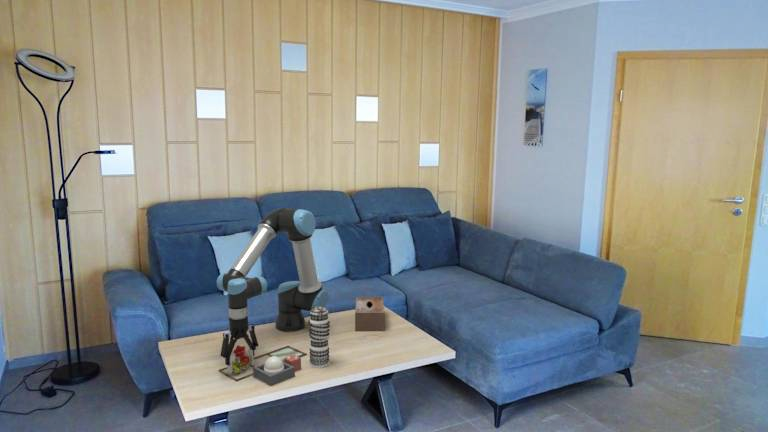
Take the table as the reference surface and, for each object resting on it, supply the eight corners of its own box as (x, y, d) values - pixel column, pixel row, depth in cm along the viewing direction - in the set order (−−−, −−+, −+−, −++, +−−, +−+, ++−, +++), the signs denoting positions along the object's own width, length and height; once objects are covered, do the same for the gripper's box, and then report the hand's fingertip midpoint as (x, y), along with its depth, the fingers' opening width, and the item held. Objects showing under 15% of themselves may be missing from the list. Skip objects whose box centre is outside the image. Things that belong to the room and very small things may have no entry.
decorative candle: (321, 370, 233) (320, 313, 229) (304, 364, 237) (303, 309, 233) (334, 362, 240) (334, 307, 236) (317, 357, 245) (317, 303, 241)
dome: (260, 374, 226) (259, 357, 225) (276, 368, 232) (275, 351, 230) (271, 380, 221) (271, 362, 219) (287, 374, 226) (287, 356, 225)
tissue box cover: (356, 314, 302) (356, 297, 301) (382, 314, 303) (382, 297, 301) (355, 331, 277) (355, 312, 275) (383, 331, 277) (384, 312, 276)
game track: (218, 371, 231) (218, 369, 231) (288, 346, 257) (288, 345, 257) (236, 381, 222) (236, 380, 222) (306, 354, 248) (306, 353, 248)
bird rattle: (241, 370, 235) (223, 368, 229) (250, 345, 236) (232, 342, 230) (249, 375, 231) (231, 373, 224) (258, 349, 232) (240, 347, 226)
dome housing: (253, 376, 226) (252, 363, 225) (288, 363, 239) (288, 351, 238) (270, 386, 218) (270, 372, 217) (306, 371, 231) (306, 359, 230)
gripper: (219, 325, 216) (221, 379, 220) (266, 312, 232) (267, 362, 236) (209, 321, 221) (212, 373, 225) (255, 307, 237) (257, 357, 241)
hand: (240, 367), depth 231 cm, fingers closed on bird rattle, 9 cm apart
